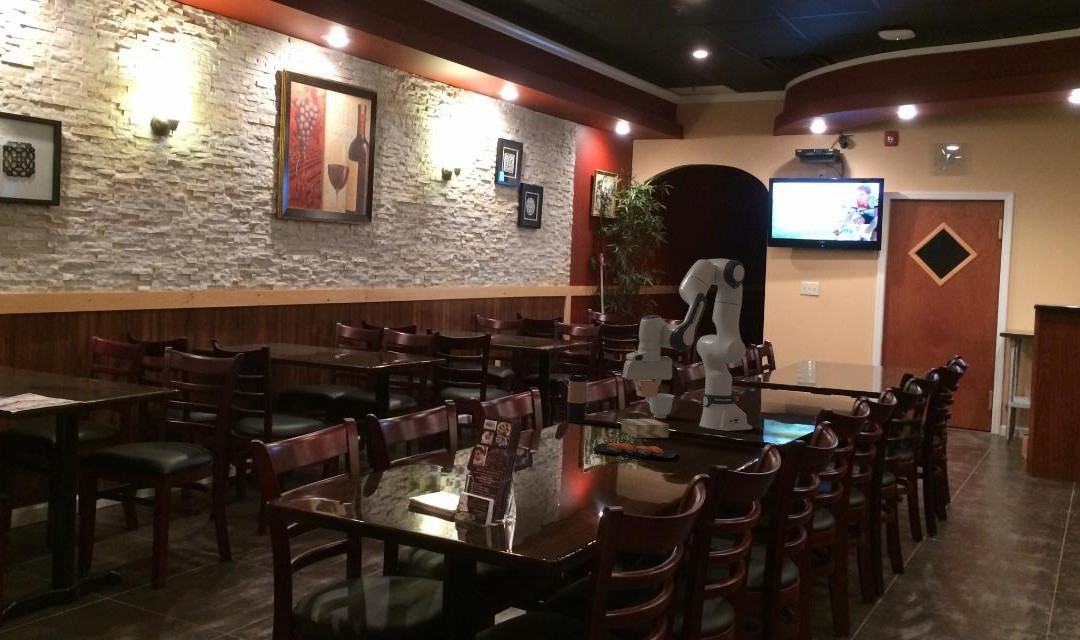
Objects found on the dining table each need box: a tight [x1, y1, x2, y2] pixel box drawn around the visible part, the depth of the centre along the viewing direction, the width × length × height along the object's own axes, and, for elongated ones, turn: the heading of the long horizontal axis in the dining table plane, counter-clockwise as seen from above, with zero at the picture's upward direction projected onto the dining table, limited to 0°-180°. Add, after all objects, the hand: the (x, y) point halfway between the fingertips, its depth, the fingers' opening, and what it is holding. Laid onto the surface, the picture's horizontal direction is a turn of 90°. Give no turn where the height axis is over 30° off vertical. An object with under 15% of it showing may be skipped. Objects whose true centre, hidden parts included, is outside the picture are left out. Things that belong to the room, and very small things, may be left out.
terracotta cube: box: [636, 379, 659, 398], centre depth 377 cm, size 6×6×6 cm
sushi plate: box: [592, 442, 678, 464], centre depth 329 cm, size 29×30×4 cm
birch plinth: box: [620, 418, 670, 439], centre depth 378 cm, size 14×14×5 cm
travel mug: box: [566, 373, 588, 425], centre depth 398 cm, size 8×8×20 cm
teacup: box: [645, 392, 675, 419], centre depth 424 cm, size 12×15×10 cm
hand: (646, 390), depth 377 cm, fingers closed on terracotta cube, 6 cm apart
